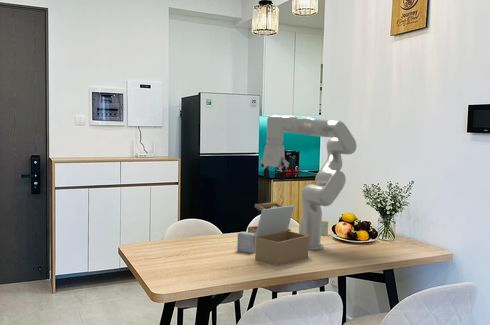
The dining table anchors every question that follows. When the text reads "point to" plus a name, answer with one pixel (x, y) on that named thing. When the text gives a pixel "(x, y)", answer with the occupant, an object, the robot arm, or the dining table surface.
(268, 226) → the carton lid
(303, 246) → the carton
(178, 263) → the dining table surface
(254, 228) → the hardcover book
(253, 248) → the medicine box
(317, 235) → the robot arm
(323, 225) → the candy box
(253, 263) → the dining table surface
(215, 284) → the dining table surface
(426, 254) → the dining table surface
